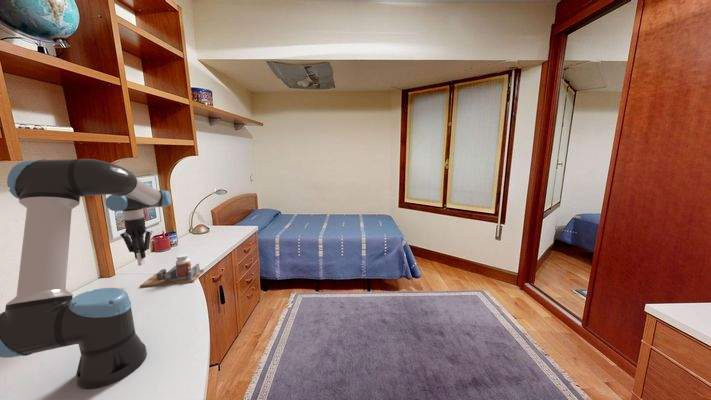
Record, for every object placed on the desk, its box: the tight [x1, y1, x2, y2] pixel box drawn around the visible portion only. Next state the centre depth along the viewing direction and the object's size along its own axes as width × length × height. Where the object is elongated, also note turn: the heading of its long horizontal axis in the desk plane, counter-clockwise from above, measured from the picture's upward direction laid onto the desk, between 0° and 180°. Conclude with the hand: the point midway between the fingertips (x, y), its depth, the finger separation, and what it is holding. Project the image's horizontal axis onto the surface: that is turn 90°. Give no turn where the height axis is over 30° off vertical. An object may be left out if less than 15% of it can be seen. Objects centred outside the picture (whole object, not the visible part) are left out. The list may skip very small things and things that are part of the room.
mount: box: [139, 263, 205, 288], centre depth 132 cm, size 13×24×5 cm, turn 101°
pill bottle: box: [175, 253, 192, 278], centre depth 132 cm, size 6×6×11 cm
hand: (141, 264), depth 129 cm, fingers closed
